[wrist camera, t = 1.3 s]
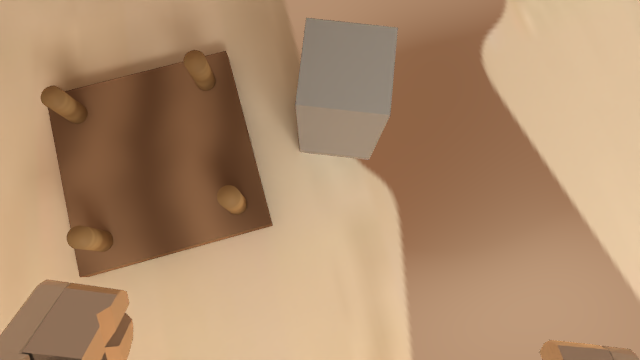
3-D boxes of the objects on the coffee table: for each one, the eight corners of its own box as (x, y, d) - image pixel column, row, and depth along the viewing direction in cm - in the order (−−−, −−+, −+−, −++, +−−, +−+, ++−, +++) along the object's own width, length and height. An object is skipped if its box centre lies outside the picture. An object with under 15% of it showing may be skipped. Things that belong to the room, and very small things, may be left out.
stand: (228, 58, 37) (216, 27, 33) (272, 225, 35) (266, 217, 30) (54, 102, 36) (17, 76, 32) (87, 276, 34) (52, 276, 29)
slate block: (375, 94, 37) (397, 27, 27) (368, 159, 36) (390, 115, 26) (307, 86, 37) (306, 17, 27) (299, 151, 36) (295, 104, 26)
